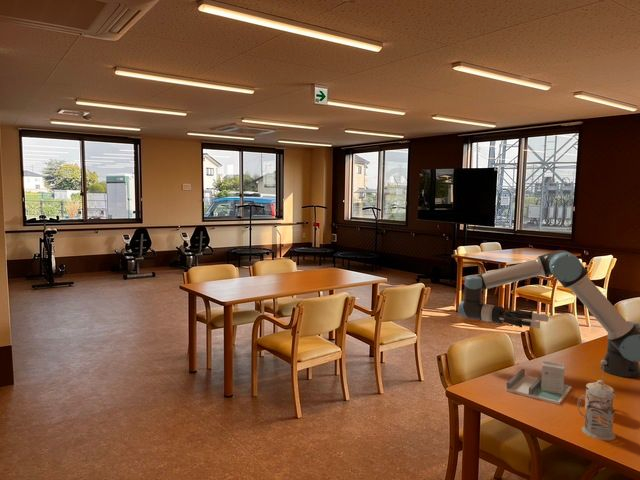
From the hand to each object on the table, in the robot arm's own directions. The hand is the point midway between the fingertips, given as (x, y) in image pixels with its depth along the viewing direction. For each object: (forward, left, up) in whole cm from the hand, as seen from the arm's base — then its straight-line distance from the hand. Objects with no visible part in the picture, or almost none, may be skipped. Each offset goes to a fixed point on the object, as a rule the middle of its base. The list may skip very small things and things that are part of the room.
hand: (544, 321), depth 204 cm
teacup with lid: (-25, +17, -26) cm, 40 cm away
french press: (-27, +37, -26) cm, 52 cm away
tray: (-2, +12, -25) cm, 28 cm away
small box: (-8, +12, -24) cm, 28 cm away
